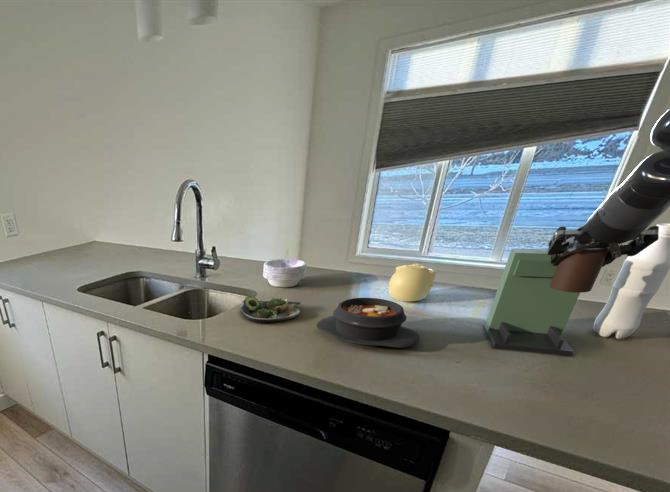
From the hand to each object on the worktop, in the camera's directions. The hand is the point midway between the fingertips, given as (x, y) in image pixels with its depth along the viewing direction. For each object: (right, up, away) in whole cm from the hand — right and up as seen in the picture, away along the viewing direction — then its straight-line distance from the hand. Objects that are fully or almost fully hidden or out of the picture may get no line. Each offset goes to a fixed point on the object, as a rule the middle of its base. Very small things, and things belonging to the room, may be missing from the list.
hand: (577, 262), depth 83 cm
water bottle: (+22, -13, +14) cm, 29 cm away
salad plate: (-52, -3, +44) cm, 68 cm away
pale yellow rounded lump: (-7, +2, +45) cm, 46 cm away
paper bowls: (-40, +12, +68) cm, 80 cm away
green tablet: (+3, -14, +15) cm, 21 cm away
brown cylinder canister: (0, -5, +1) cm, 5 cm away
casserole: (-32, -13, +24) cm, 42 cm away
